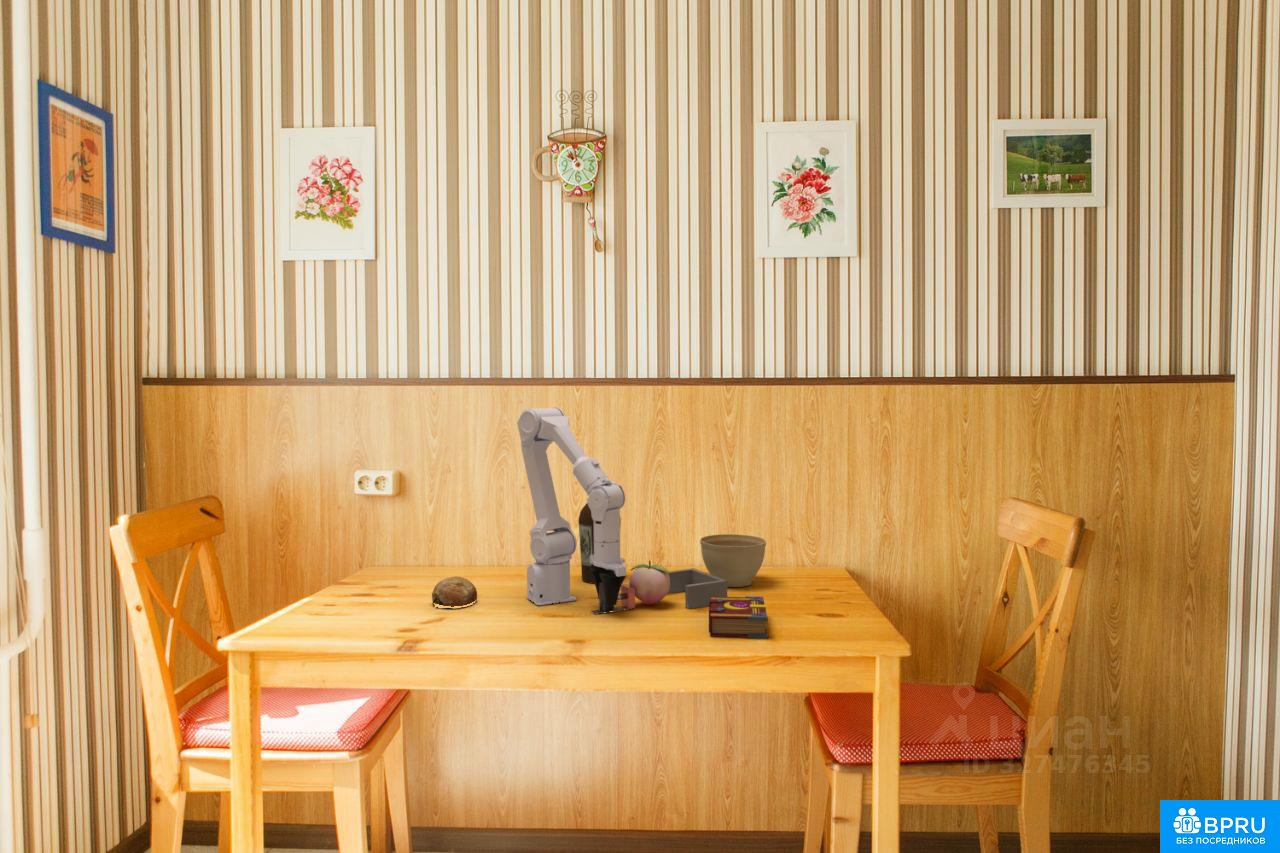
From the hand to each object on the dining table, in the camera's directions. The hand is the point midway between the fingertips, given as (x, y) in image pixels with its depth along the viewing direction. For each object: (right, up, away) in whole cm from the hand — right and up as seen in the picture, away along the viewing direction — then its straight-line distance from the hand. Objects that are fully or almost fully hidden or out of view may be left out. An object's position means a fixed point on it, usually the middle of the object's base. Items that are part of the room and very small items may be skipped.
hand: (607, 602), depth 168 cm
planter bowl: (+30, -1, +24) cm, 38 cm away
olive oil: (-3, -1, +29) cm, 29 cm away
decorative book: (+27, -3, -11) cm, 29 cm away
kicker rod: (+2, -1, +1) cm, 2 cm away
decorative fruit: (+9, -2, +5) cm, 11 cm away
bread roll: (-35, -2, +8) cm, 36 cm away
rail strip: (+1, -2, +1) cm, 2 cm away
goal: (+18, -1, +10) cm, 21 cm away
